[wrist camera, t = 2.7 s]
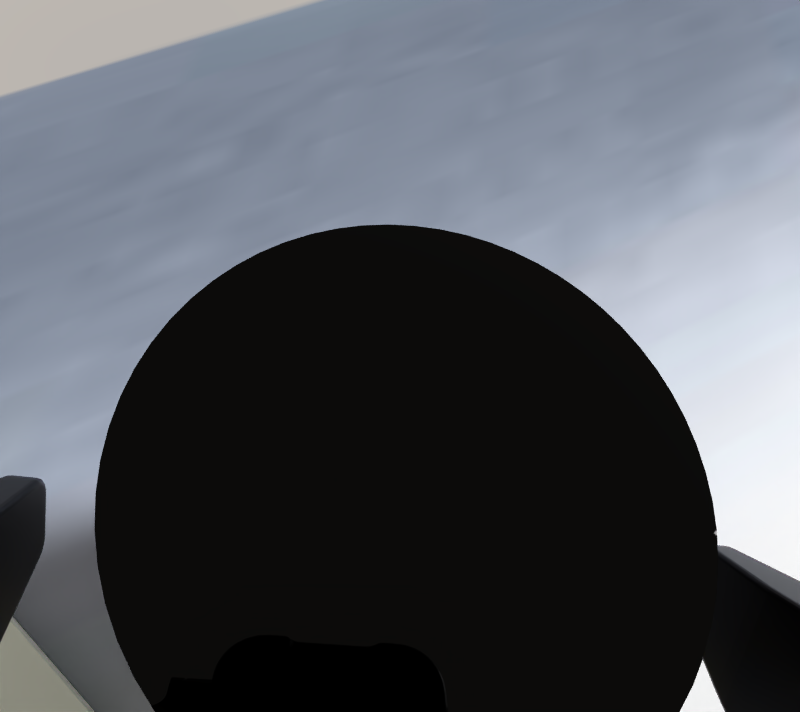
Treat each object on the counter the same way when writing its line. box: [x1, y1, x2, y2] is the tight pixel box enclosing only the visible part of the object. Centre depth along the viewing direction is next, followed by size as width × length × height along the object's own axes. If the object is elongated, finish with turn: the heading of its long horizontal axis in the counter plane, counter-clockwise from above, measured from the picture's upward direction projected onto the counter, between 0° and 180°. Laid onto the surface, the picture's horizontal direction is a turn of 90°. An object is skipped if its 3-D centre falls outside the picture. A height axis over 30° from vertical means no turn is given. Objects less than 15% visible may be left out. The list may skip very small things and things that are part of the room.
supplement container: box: [95, 225, 718, 712], centre depth 12 cm, size 7×7×10 cm
